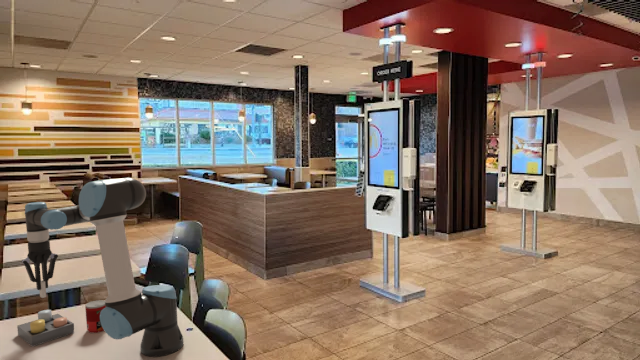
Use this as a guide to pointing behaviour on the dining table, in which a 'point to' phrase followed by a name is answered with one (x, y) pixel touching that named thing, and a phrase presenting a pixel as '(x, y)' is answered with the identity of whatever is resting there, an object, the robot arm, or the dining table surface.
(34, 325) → the button mustard
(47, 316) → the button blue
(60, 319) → the salmon pink rounded dome
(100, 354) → the dining table surface
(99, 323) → the canned food
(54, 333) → the button panel
